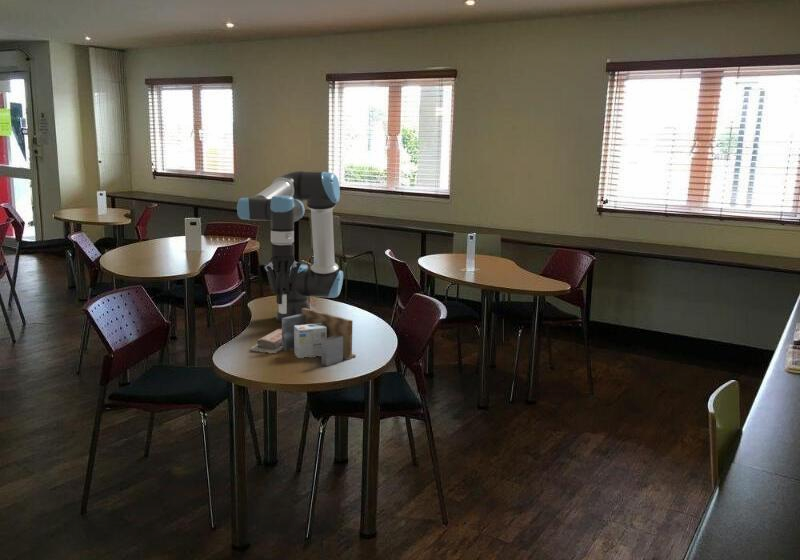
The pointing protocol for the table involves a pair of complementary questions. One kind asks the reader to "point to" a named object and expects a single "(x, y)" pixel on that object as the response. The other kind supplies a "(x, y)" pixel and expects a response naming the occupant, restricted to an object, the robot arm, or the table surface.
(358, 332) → the table surface
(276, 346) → the packaged product
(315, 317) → the rack
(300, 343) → the light bulb box
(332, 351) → the bookend
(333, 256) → the robot arm
